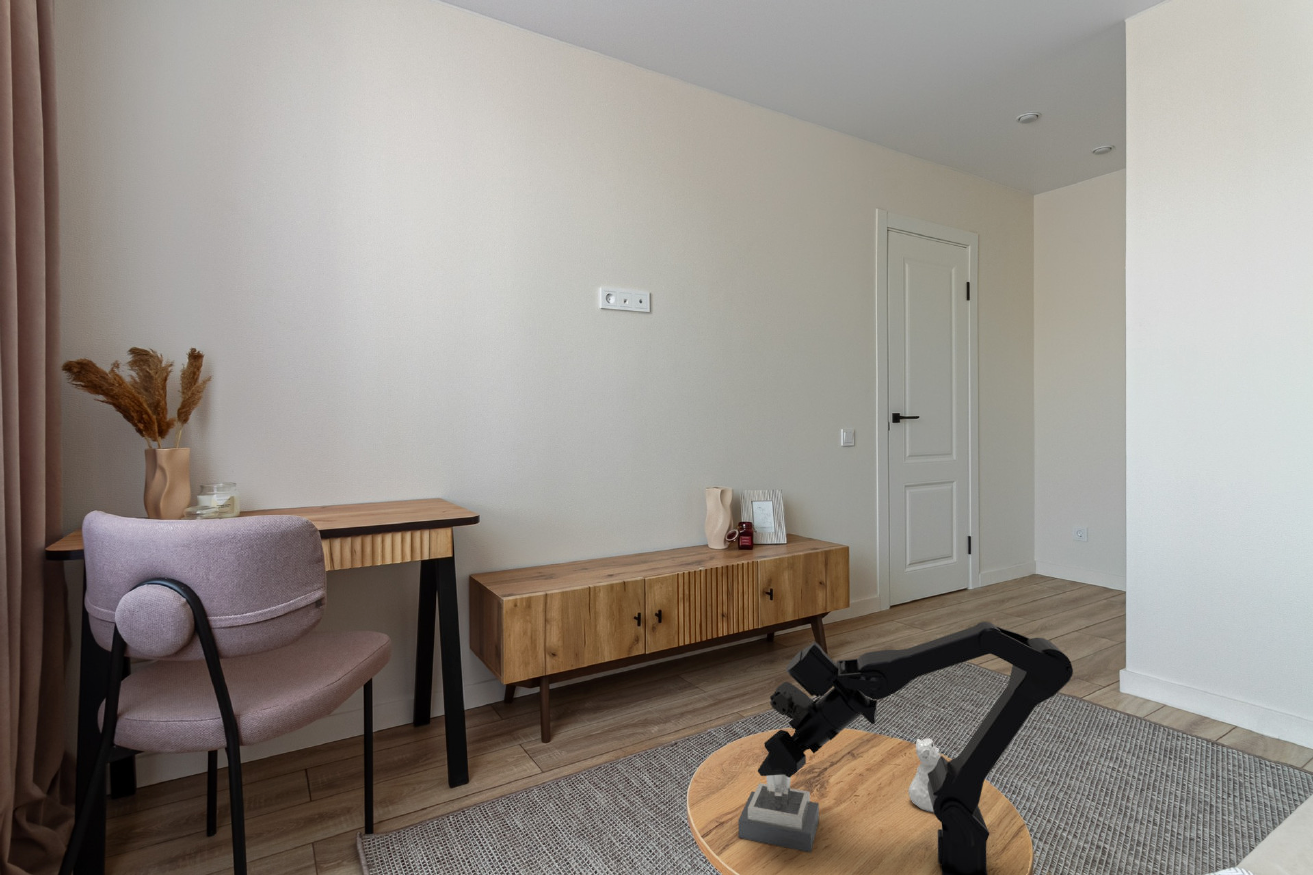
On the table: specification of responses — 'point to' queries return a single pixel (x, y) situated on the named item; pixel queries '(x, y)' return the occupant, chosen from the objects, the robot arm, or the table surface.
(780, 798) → the milkshake
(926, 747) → the seated beast figurine
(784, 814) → the grey open rectangular box
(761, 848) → the table surface
